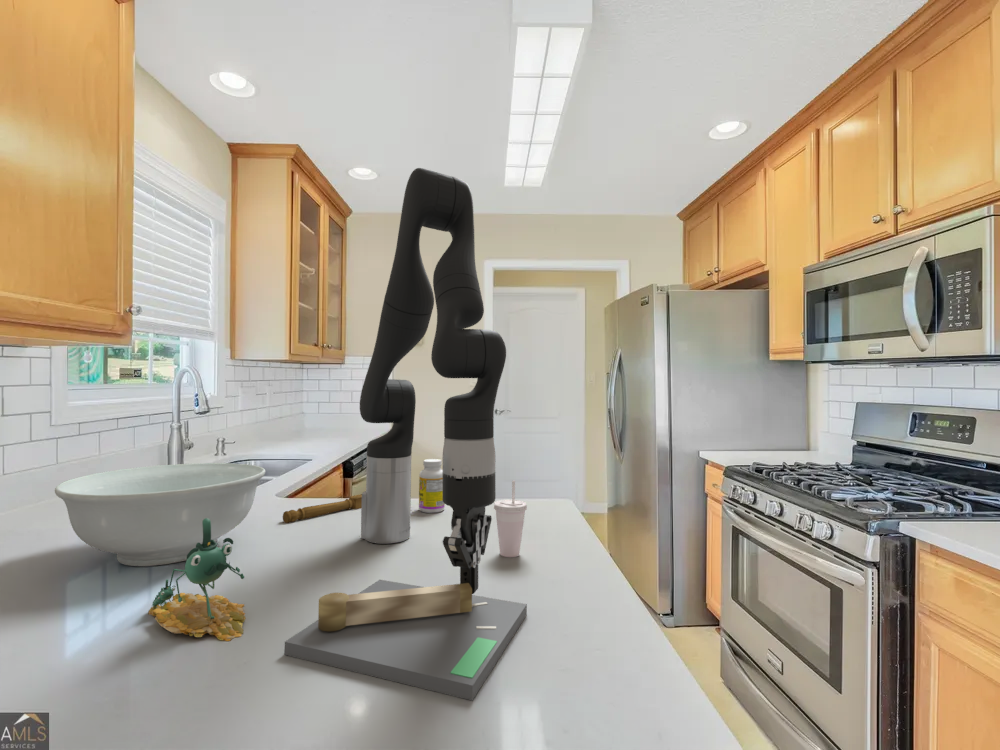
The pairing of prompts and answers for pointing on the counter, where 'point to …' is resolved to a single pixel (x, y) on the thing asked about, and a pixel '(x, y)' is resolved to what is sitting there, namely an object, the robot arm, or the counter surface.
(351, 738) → the counter surface
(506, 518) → the smoothie
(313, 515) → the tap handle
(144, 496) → the bowl
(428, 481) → the supplement bottle
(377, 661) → the dial plate
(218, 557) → the green cartoon bug figurine
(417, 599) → the dial lever
